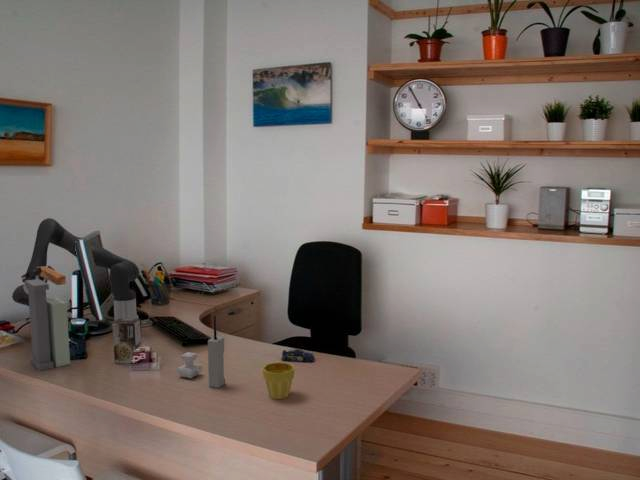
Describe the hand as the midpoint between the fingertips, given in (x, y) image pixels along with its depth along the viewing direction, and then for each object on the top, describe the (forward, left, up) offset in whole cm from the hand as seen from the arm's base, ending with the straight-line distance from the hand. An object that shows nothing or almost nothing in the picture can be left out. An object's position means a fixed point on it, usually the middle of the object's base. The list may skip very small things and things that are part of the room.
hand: (45, 268), depth 239 cm
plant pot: (-45, +91, -35) cm, 108 cm away
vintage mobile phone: (-34, +70, -35) cm, 85 cm away
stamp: (-31, +56, -35) cm, 73 cm away
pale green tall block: (0, +9, -35) cm, 36 cm away
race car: (-72, +68, -36) cm, 105 cm away
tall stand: (+6, +9, -35) cm, 37 cm away
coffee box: (-21, +26, -35) cm, 49 cm away
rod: (0, +7, -3) cm, 8 cm away
